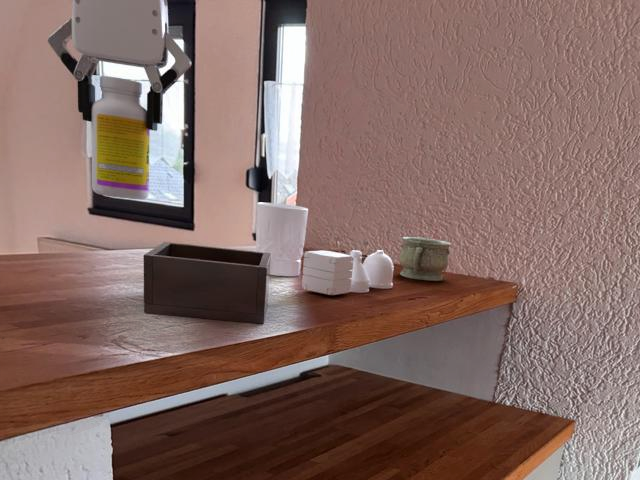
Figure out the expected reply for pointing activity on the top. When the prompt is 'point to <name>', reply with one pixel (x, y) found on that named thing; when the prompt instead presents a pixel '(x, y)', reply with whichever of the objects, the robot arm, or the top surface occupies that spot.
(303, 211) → the white cup
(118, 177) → the supplement bottle
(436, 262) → the vessel
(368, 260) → the container set
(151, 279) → the box
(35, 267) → the top surface
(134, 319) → the top surface
